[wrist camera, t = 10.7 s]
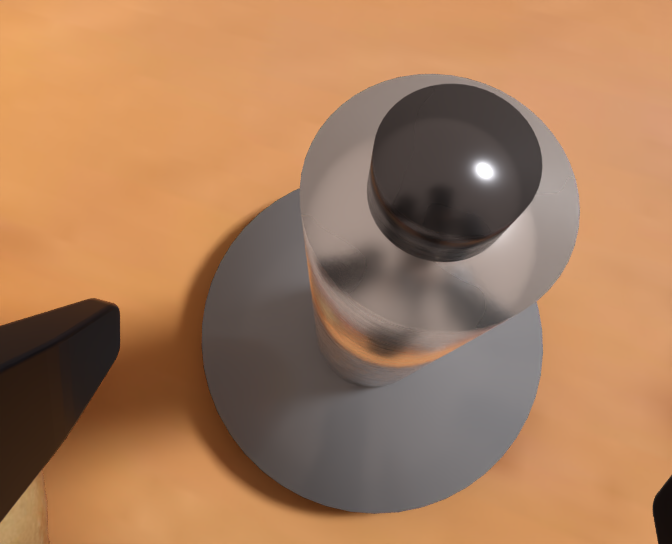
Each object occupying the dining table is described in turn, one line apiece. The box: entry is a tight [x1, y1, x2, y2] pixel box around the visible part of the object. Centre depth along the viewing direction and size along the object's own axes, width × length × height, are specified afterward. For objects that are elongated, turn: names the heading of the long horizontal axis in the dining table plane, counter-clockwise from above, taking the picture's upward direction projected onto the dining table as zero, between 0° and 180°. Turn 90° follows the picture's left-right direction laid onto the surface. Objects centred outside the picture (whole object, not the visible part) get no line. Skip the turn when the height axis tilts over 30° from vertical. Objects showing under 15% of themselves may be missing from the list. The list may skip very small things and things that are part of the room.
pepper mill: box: [300, 74, 580, 387], centre depth 14 cm, size 5×5×14 cm
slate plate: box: [202, 189, 543, 514], centre depth 21 cm, size 14×14×1 cm
